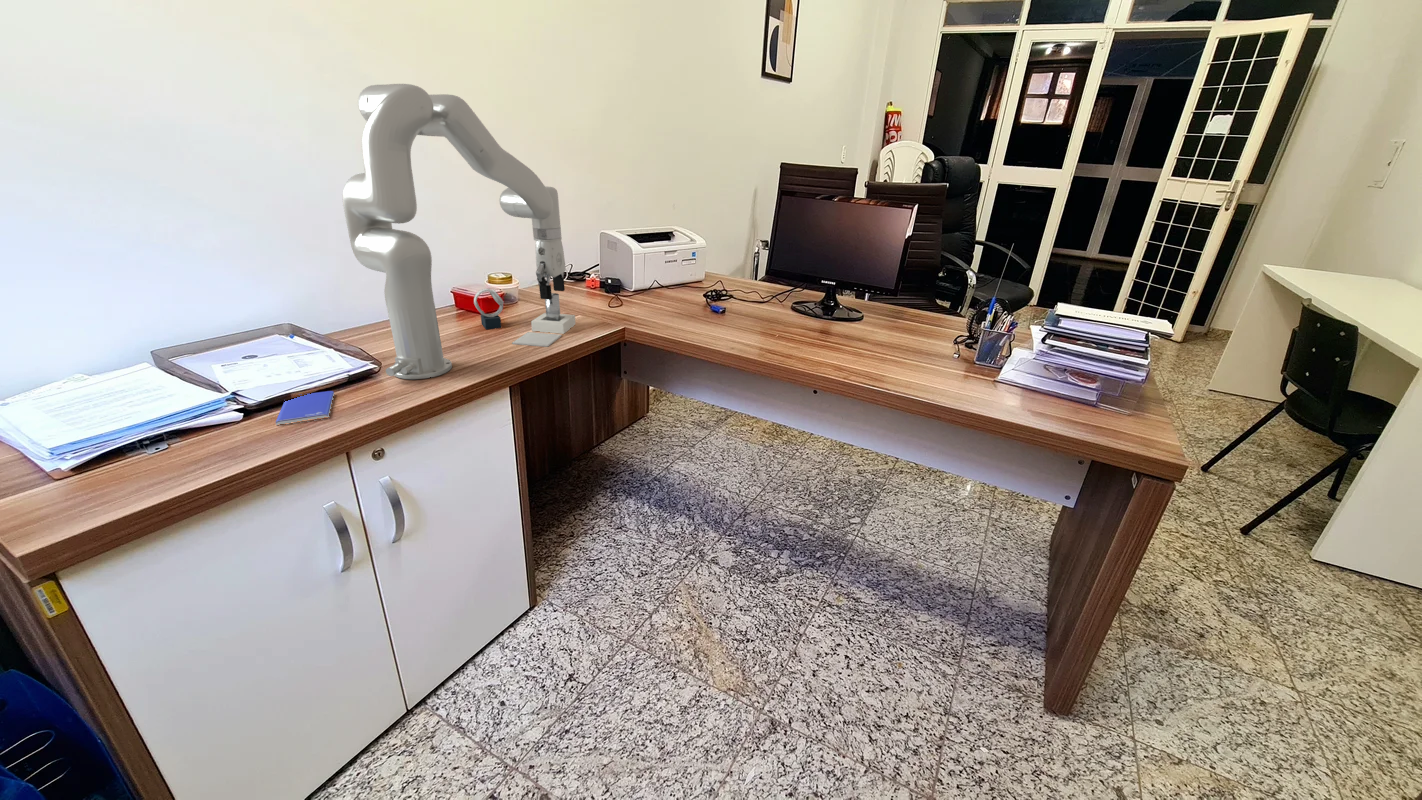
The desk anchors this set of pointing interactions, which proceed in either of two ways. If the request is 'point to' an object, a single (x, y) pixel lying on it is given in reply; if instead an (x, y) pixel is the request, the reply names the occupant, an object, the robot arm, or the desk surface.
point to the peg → (553, 308)
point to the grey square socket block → (553, 324)
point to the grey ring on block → (491, 319)
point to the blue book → (306, 407)
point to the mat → (537, 339)
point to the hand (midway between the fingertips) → (553, 294)
